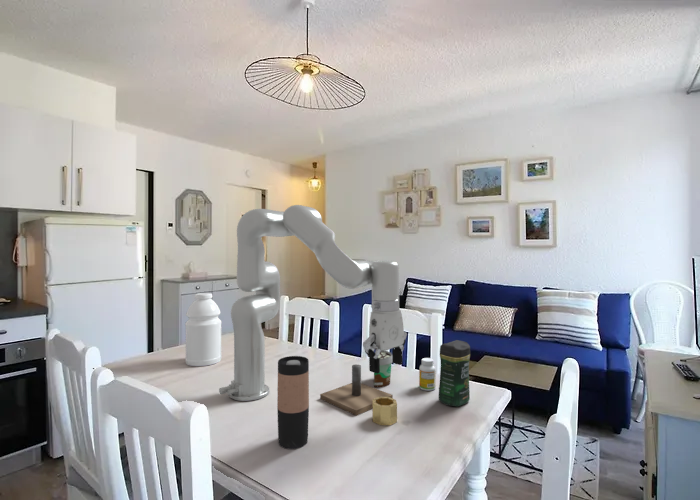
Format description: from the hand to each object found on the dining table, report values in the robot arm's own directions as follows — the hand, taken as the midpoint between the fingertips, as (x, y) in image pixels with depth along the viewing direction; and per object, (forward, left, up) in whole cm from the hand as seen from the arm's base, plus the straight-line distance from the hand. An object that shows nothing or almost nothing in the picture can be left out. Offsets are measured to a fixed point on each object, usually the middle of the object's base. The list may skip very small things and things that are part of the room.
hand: (386, 367), depth 103 cm
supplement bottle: (+28, +5, -15) cm, 32 cm away
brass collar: (0, 0, -14) cm, 14 cm away
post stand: (+4, +15, -14) cm, 21 cm away
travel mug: (-25, +8, -15) cm, 30 cm away
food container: (+21, +18, -15) cm, 31 cm away
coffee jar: (+25, -7, -15) cm, 30 cm away
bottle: (-15, +85, -15) cm, 88 cm away
